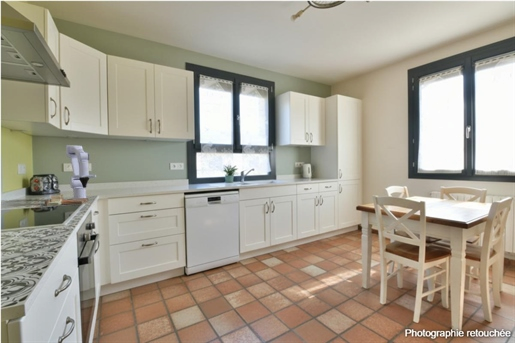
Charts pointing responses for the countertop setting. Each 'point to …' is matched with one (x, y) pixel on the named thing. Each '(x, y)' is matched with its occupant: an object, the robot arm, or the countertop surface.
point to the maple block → (56, 198)
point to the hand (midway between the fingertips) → (84, 187)
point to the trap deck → (66, 202)
